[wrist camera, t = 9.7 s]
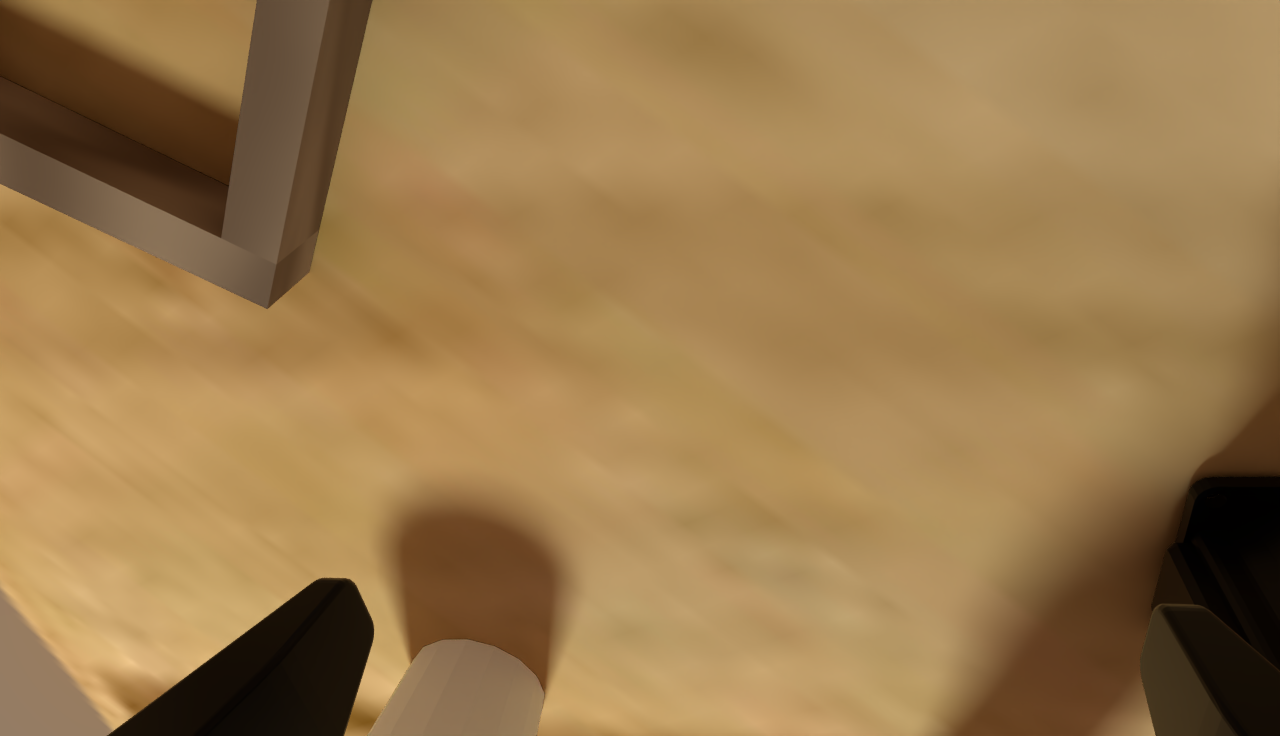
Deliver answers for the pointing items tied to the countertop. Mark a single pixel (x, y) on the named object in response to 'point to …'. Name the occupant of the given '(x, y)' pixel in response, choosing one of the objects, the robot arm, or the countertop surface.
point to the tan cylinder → (463, 694)
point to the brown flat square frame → (190, 201)
